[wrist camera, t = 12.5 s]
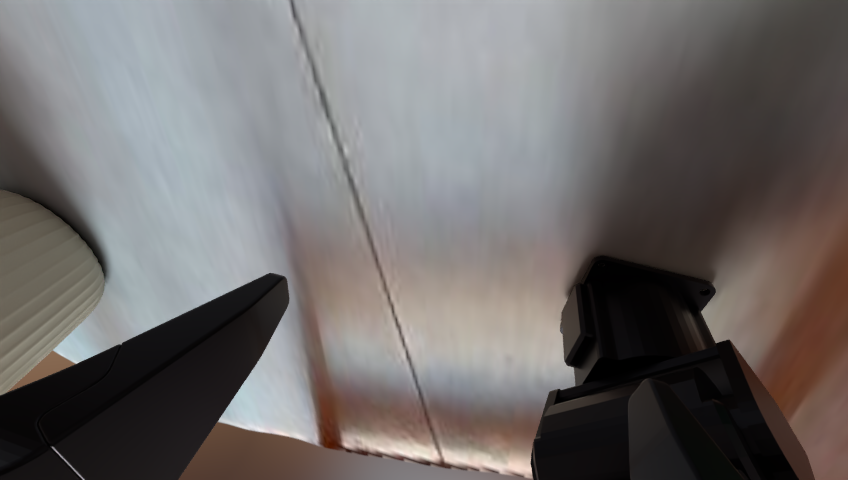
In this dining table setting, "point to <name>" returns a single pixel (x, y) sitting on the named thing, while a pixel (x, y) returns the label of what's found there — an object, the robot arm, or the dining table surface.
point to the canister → (40, 284)
